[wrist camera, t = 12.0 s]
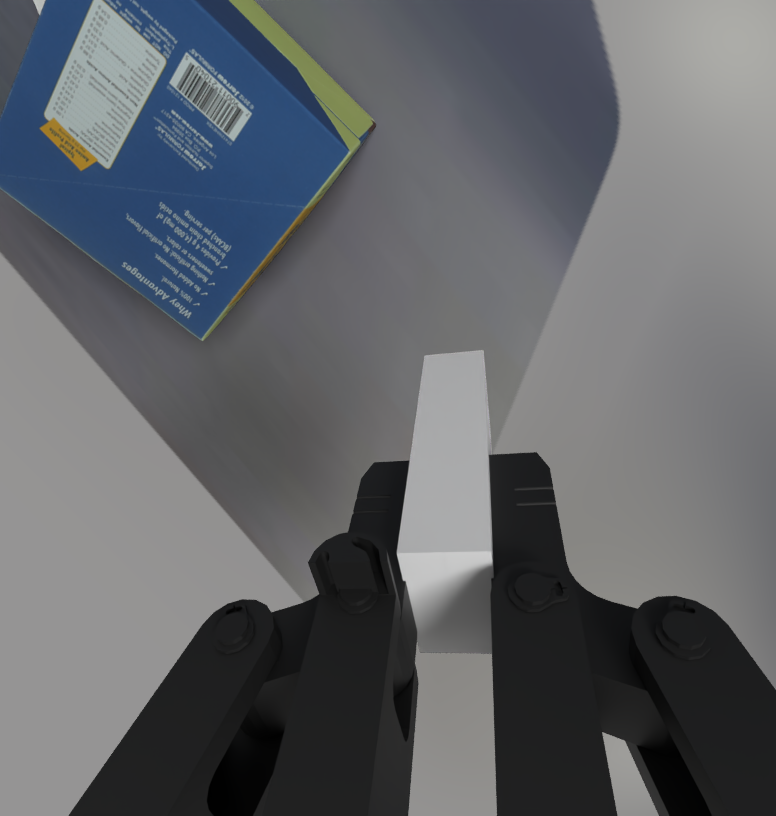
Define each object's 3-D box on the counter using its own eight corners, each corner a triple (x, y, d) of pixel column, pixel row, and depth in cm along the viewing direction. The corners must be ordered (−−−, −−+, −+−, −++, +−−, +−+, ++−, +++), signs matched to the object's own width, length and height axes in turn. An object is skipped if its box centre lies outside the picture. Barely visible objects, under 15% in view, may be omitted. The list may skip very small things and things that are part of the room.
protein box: (380, 125, 37) (254, 284, 44) (182, -76, 32) (78, 141, 40) (354, 155, 28) (202, 346, 36) (77, -113, 23) (-29, 172, 31)
